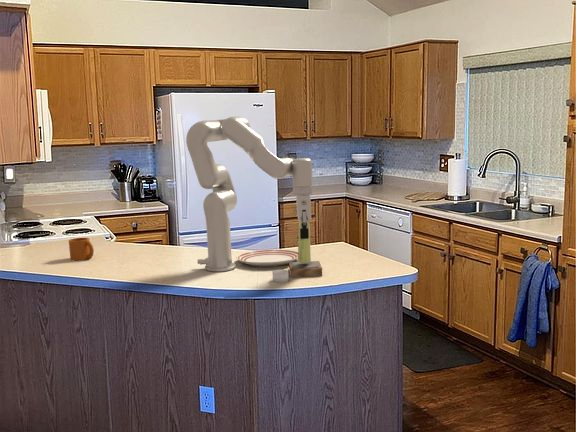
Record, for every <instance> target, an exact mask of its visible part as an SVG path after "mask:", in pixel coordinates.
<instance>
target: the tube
mask: <svg viewBox="0 0 576 432" xmlns="http://www.w3.org/2000/svg"><path fill="white" fill-rule="evenodd" d="M302 215H303V214H302ZM306 217H307V216H306ZM301 218H302V217H301ZM307 218H308V217H307ZM307 218H306V220H307ZM301 220H303V219H301ZM300 228H301V222H300V221H299V220H298V235H297V237H298V238H297V239H298V240H297V241H298V242H297V252H298V259H297V262H301V263H308V262H310V261H312V260H311V259H312V258H311V257H312V255H311V254H312V253H311V230H310V229H311V228H310V220H308V228H309V238H308V239H301V238H300Z"/></svg>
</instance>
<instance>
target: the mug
mask: <svg viewBox="0 0 576 432" xmlns="http://www.w3.org/2000/svg"><path fill="white" fill-rule="evenodd" d="M68 248H69V257H70V258H69V259H70V261H72V260H74V261H75V262H76V261H77V262H79V261H87V260H90V259H92V258H93V256H94V250H95V249H94V246H93V244H92V242H91V241H90V238H89V237H75V238H71V239H68Z"/></svg>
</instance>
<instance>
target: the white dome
mask: <svg viewBox="0 0 576 432" xmlns="http://www.w3.org/2000/svg"><path fill="white" fill-rule="evenodd" d="M271 274H272V275H271V276H272V282H274V283H278V282H281V283H287V282H289V281H288V280H289V279H290V278H289V275H290V274H289V270H288V269H274V270H272V272H271ZM286 281H287V282H286Z"/></svg>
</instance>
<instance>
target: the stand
mask: <svg viewBox="0 0 576 432" xmlns="http://www.w3.org/2000/svg"><path fill="white" fill-rule="evenodd" d="M288 264H289V270H288V271H289V275H290V278H299V277H300V278H302V277H303V278H304V277H320V276H321V277H323V267H322V265H321V262H320V260H311V261H310V262H308V263H301V262H298V261H292V262H289V263H288Z"/></svg>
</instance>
